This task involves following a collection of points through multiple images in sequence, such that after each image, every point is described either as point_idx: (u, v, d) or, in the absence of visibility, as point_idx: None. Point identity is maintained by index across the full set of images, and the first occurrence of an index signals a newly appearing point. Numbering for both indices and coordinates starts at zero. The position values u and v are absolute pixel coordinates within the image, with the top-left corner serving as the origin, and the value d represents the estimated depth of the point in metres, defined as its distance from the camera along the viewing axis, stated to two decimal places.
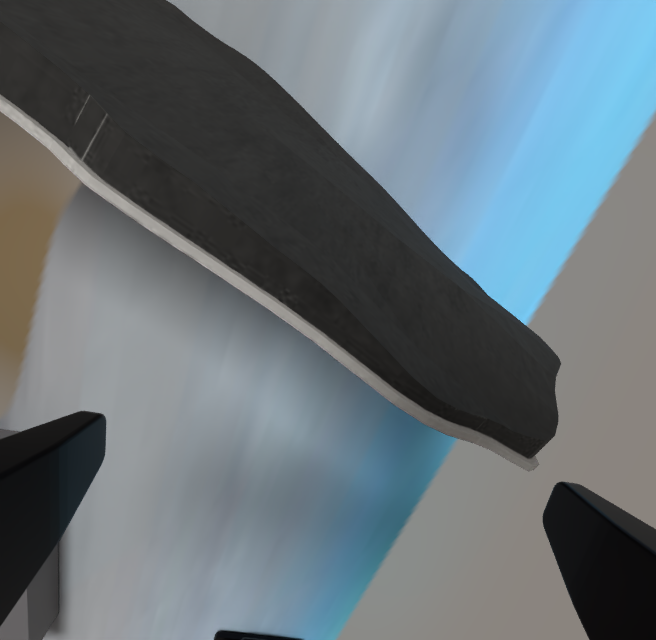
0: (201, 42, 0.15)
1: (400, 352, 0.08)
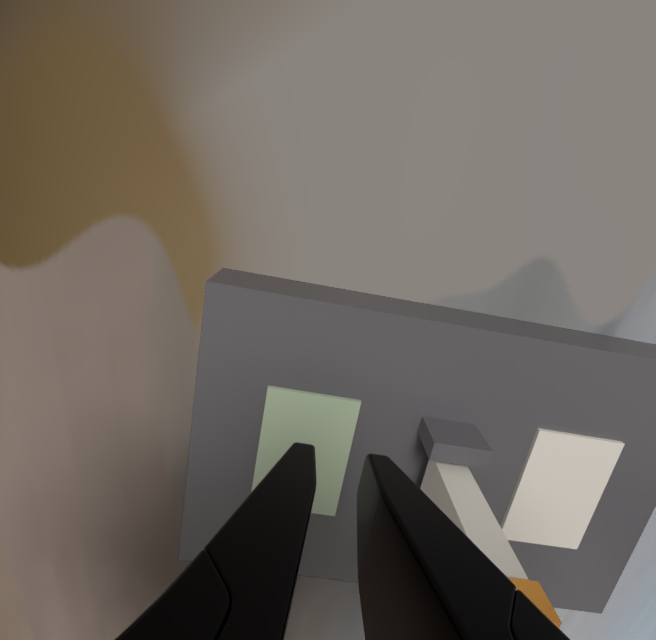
0: None
1: None
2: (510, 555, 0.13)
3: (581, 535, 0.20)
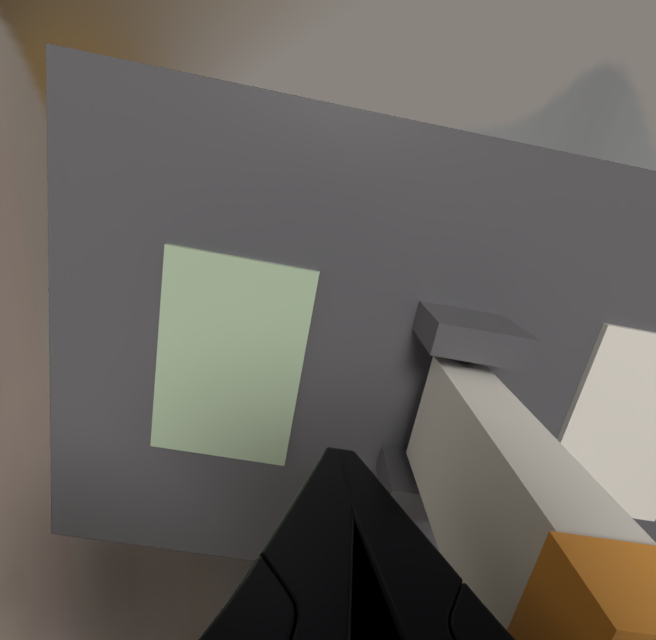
0: None
1: None
2: (603, 498, 0.06)
3: None
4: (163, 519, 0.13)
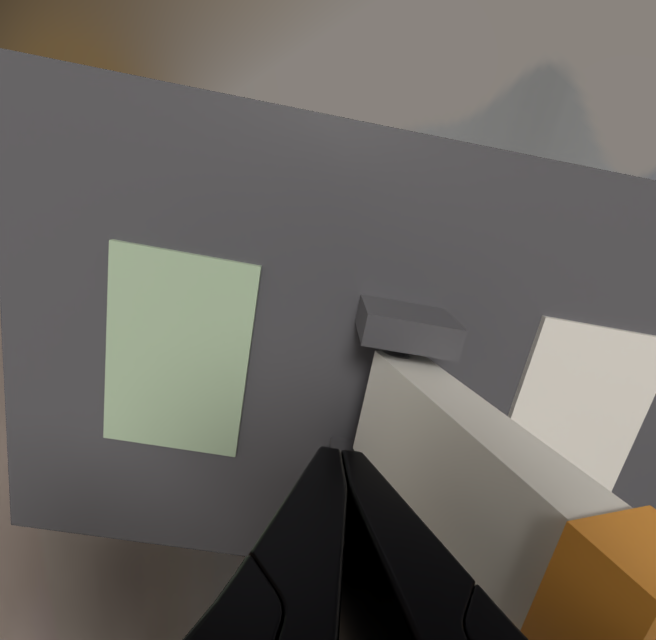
0: None
1: None
2: (575, 472, 0.07)
3: (609, 490, 0.13)
4: (119, 510, 0.14)
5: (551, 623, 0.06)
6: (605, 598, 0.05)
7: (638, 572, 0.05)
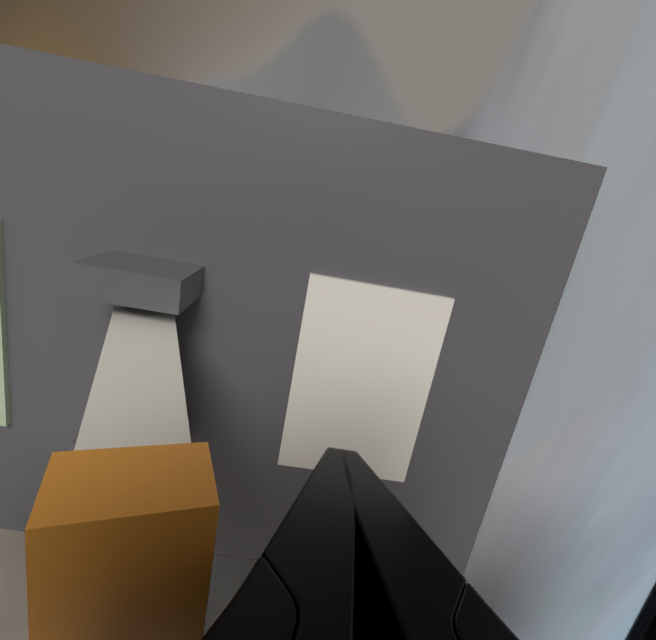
0: None
1: None
2: (173, 413, 0.06)
3: (408, 459, 0.13)
4: None
5: None
6: None
7: (60, 499, 0.04)
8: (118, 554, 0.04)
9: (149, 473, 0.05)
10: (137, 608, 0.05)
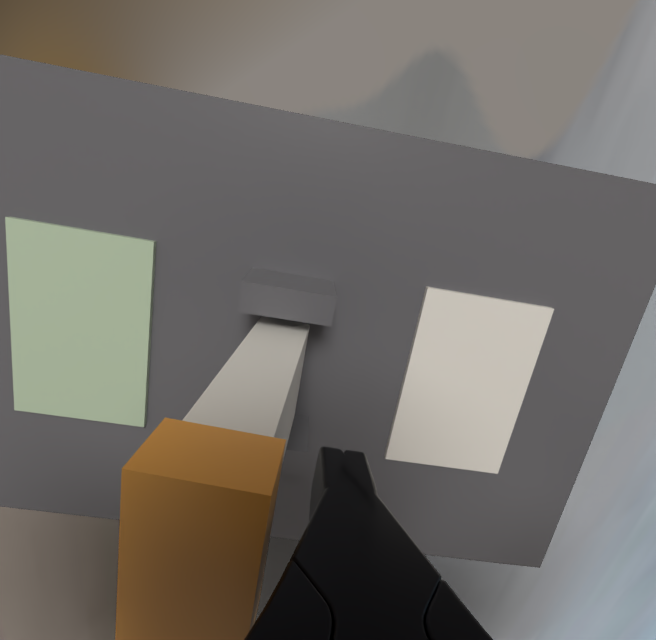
0: None
1: None
2: (270, 410, 0.07)
3: (502, 453, 0.14)
4: (37, 482, 0.14)
5: None
6: None
7: (154, 454, 0.05)
8: (184, 514, 0.05)
9: (226, 453, 0.06)
10: (197, 570, 0.05)
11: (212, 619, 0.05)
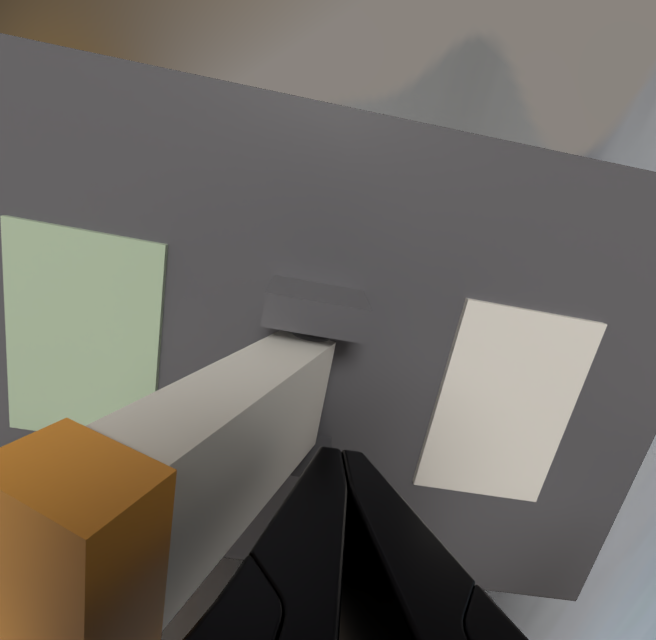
0: None
1: None
2: (199, 430, 0.06)
3: (542, 480, 0.13)
4: None
5: None
6: None
7: (12, 456, 0.05)
8: (13, 535, 0.04)
9: (88, 472, 0.05)
10: (29, 606, 0.04)
11: None
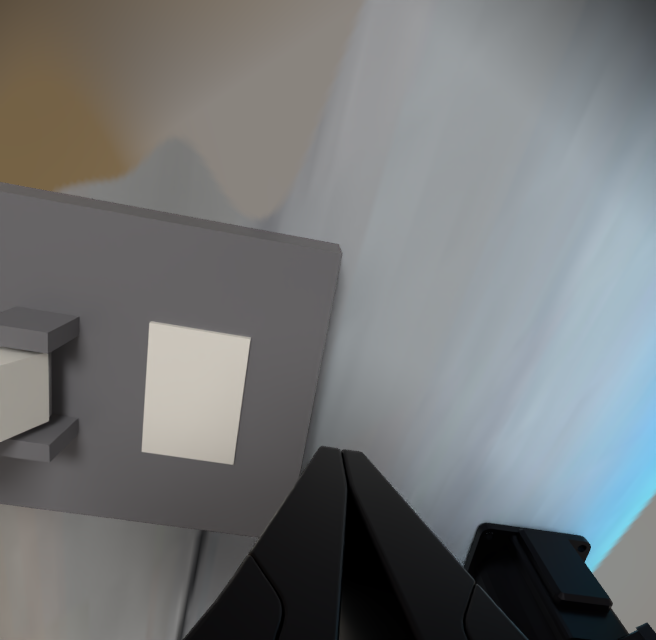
0: None
1: None
2: None
3: (234, 448, 0.18)
4: None
5: None
6: None
7: None
8: None
9: None
10: None
11: None
